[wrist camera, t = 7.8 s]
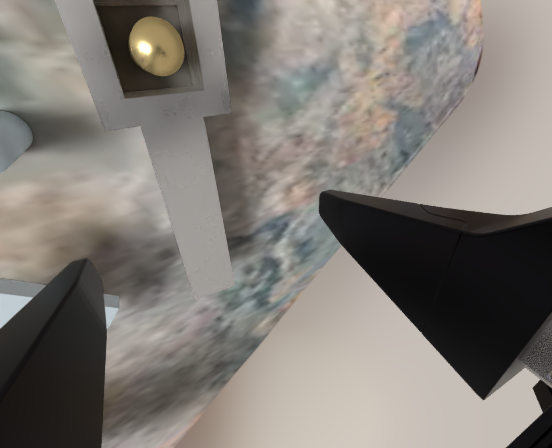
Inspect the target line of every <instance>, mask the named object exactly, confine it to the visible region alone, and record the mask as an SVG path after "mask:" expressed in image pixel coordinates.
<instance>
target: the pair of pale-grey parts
mask: <svg viewBox="0 0 552 448" xmlns="http://www.w3.org/2000/svg"><path fill="white" fill-rule="evenodd" d="M32 141H33V135H32V131H31V129H30V128H29V126H28V125H27V124H26V123H25V122H24V121H23V120H22V119H21V118H19V117H18V116H16V115H14V114H12V113H9V112H6V111H1V110H0V173H2V172H4V171H5V170H6V169H7V168H8V167H9V166H10V165H11V164H12V163H13V162H14V161H15V160H16V159H18V158H19V157H20V156H21V155H22V154H23V153H24V152H25V151H26V150H27V149H28V148H29V147H30V146H31V144H32ZM45 286H46V285H43V284H36V283H29V282H23V281H16V280H10V279H3V278H0V328H1V327H2V326H3V325H5V324H6V323H7V322H8V321H9V320H10V319H11V318H12V317H13V316H14V315H15V314H16V313H17V312H18V311H19V310H21V309H22V308H23V307H24V306H25V305H26V304H27V303H28V302H29V301H30V300H31V299H32V298H33V297H34V296H36V295H37V294H38V293H39V292H40V291H41V290H42V289H43V288H44V287H45ZM104 304H105V314H106V325H107V329H108V327H109V325H110V324H111V322H112V320H113V318H114V317H115V315H116V313H117V311H118V309H119V296H115V295H109V294H104Z"/></svg>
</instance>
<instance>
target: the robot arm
mask: <svg viewBox="0 0 552 448" xmlns="http://www.w3.org/2000/svg"><path fill="white" fill-rule="evenodd" d="M319 214H320V216H321V218H322V219H323V221H324V222H325V223H326V225H327V226H328V228H329V229H330V230H331V232H332V233H333V234H334V236H335V237H336V239H337V240H338V241H339V242H340V244H341V245H342V246H343V247H344V248H345V249H346V250H347V252H348V253H349V254H350V255H351V256H352V257H353V258H354V259H355V260H356V261H357V263H358V264H359V265H360V266H361V267H362V268H363V269H364V270H365V271H366V272H367V274H368V275H369V276H370V277H371V278H372V279H373V280H374V281H375V282H376V283H377V284H378V286H379V287H380V288H381V289H382V290H383V291H384V292H385V293H386V295H387V296H388V297H389V298H390V299H391V300H392V301H393V302H394V303H395V304H396V305H397V307H398V308H399V309H400V310H401V311H402V312H403V313H404V314H405V315H406V316H407V318H408V319H409V320H410V321H411V322H412V323H413V324H414V325H415V326H416V327H417V328H418V330H419V331H420V332H422V334H423V335H424V337H425V338H426V339H427V340H428V341H429V342H430V343H431V344H432V345H433V346H434V348H435V349H436V350H437V351H438V352H439V353H440V354H441V355H442V356H443V357H444V358H445V359H446V361H447V362H448V363H449V364H450V365H451V366H452V367H453V368H454V370H455V371H456V372H457V373H458V374H459V375H460V376H461V377H462V378H463V379H464V381H465V382H466V383H467V384H468V385H469V386H470V387H471V388H472V389H473V391H474V392H475V393H476V394H477V395H478V396H479V397H480V398H481V399H483V400H485V399H486V398H487V397H489V396H490V395H491V394H492V393H494V392H495V391H496V390H498V389H499V388H500V387H501V386H502V385H504V384H505V383H506V382H507V381H509V380H510V379H511V378H513V377H514V376H515V375H516V374H518V373H519V372H520V371H521V370H522V369H524V368H527V369H528V370H529V371H530V372H532V373H533V374H535V375H536V376H537V377H538V378H539V379H541V380H540V381H539V382H538V383H537V384H536V385H535V386H534V387H533V390H534V392H535V395H536V397H537V400H538V402H539V404H540V407H541V409H542V411H543V414H542V415H540V416H539V417H538V418H537V419H536V420H535V421H534V422H533V423H532V424H531V425H530V426H529V427H528V428H527V429H525V430H524V431H523V432H522V433H521V434H520V435H519V436H518V437H517V438H516V439H515V440H514V441H513V442H512V443H510V444H509V446H507V447H506V448H552V207H550V208H547V209H543V210H540V211H536V212H533V213H529V214H523V215H500V214H491V213H483V212H474V211H465V210H457V209H450V208H442V207H436V206H429V205H423V204H417V203H410V202H404V201H398V200H392V199H386V198H379V197H373V196H367V195H361V194H354V193H348V192H342V191H336V190H327V191H323V192H321V193H320V197H319ZM106 341H107V325H106V314H105V304H104V294H103V285H102V281H101V278H100V277H99V275H98V273H97V271H96V269H95V268H94V266H93V264H92V262H91V261H90V260H89V259H88V258H84V259H80V260H76V261H73V262H71V263H70V264H69V265H68V266H67V267H65V268H64V269H63V270H62V271H61V272H60V273H59V274H58V275H57V276H56V277H55V278H54V279H53V280H52V281H50V282H49V283H48V284H47V285H46V286H45V287H44V288H43V289H42V290H41V291H40V292H39V293H38V294H37V295H36V296H34V297H33V298H32V299H31V300H30V301H29V302H28V303H27V304H26V305H25V306H24V307H23V308H22V309H21V310H19V311H18V312H17V313H16V314H15V315H14V316H13V317H12V318H11V319H10V320H9V321H8V322H7V323H6V324H5V325H3V326H2V327H1V328H0V448H101V444H102V423H103V403H104V382H105V361H106Z"/></svg>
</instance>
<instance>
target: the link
mask: <svg viewBox="0 0 552 448" xmlns="http://www.w3.org/2000/svg"><path fill="white" fill-rule="evenodd" d="M55 2H56V5H57V7H58V10H59V12H60V15H61V18H62V20H63V23H64V25H65V28H66V31H67V33H68V36H69V38H70V41H71V44H72V46H73V49H74V51H75V54H76V57H77V59H78V62H79V64H80V67H81V70H82V72H83V75H84V77H85V80H86V83H87V85H88V88H89V90H90V93H91V96H92V98H93V101H94V103H95V106H96V109H97V111H98V114H99V116H100V119H101V122H102V124H103V127H104V129H105V131H110V130H117V129H124V128H131V127H138V126H141V129H142V132H143V135H144V138H145V141H146V145H147V148H148V151H149V154H150V157H151V161H152V164H153V167H154V170H155V174H156V177H157V180H158V183H159V186H160V190H161V193H162V196H163V199H164V202H165V206H166V209H167V212H168V215H169V218H170V222H171V225H172V228H173V231H174V234H175V238H176V241H177V244H178V247H179V250H180V254H181V257H182V260H183V263H184V266H185V270H186V273H187V276H188V279H189V283H190V286H191V289H192V292H193V295H194V299H195V300H197V299H200V298H203V297H205V296H208V295H211V294H213V293H216V292H218V291H221V290H224V289H226V288H229V287H232V286H234V285H235V283H234V277H233V272H232V267H231V261H230V256H229V251H228V245H227V240H226V234H225V229H224V224H223V218H222V213H221V208H220V202H219V197H218V191H217V186H216V181H215V175H214V170H213V165H212V159H211V154H210V148H209V143H208V138H207V132H206V127H205V122H204V117H208V116H215V115H222V114H229V113H232V111H231V104H230V96H229V89H228V81H227V73H226V66H225V58H224V50H223V43H222V35H221V28H220V20H219V12H218V5H217V0H55ZM96 5H147V6H177V9H178V15H179V20H180V25H181V30H182V35H183V40H184V45H185V50H186V55H187V61H188V66H189V71H190V76H191V81H192V86H184V87H174V88H164V89H154V90H144V91H134V92H124V91H123V88H122V85H121V82H120V78H119V75H118V72H117V69H116V66H115V63H114V60H113V57H112V54H111V51H110V48H109V44H108V41H107V38H106V35H105V32H104V29H103V26H102V23H101V20H100V17H99V14H98V10H97V7H96Z"/></svg>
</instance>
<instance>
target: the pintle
mask: <svg viewBox="0 0 552 448" xmlns="http://www.w3.org/2000/svg"><path fill="white" fill-rule="evenodd" d="M128 49H129V52H130V55H131V57H132V59H133V60H134V62H135V63H136V64H137V65H138V66H139V67H140V68H142V69H144V70H146V71H148V72H150V73H152V74H154V75H158V76H169V75H172V74H174V73H175V72H177V71H178V70H179V68H180V67H181V65H182V63H183V60H184V46H183V42H182V39H181V37H180V35H179V34H178V32H177V31H176V29H175V28H174V27H173V26H172V25H171V24H170V23H168V22H167V21H165V20H163V19H161V18H158V17H145V18H142V19H140V20H139V21H138V22H137V23H136V24H135V25H134V27H133V29H132V31H131V33H130V36H129V39H128Z"/></svg>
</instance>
